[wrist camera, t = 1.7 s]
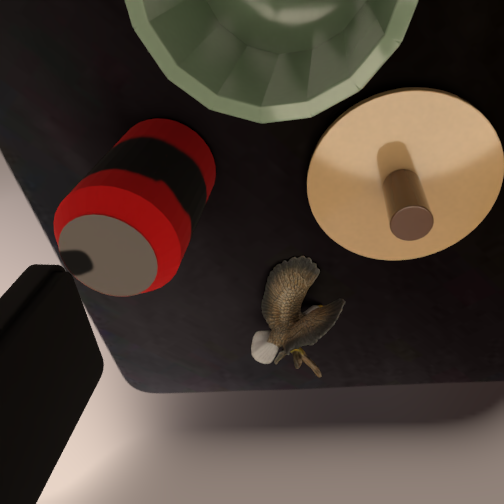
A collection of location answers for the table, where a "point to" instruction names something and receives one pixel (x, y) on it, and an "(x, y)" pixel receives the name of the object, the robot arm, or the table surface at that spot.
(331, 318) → the eagle figurine
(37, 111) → the table surface
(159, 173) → the soda can
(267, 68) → the canister
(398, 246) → the lid
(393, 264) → the table surface
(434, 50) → the table surface
